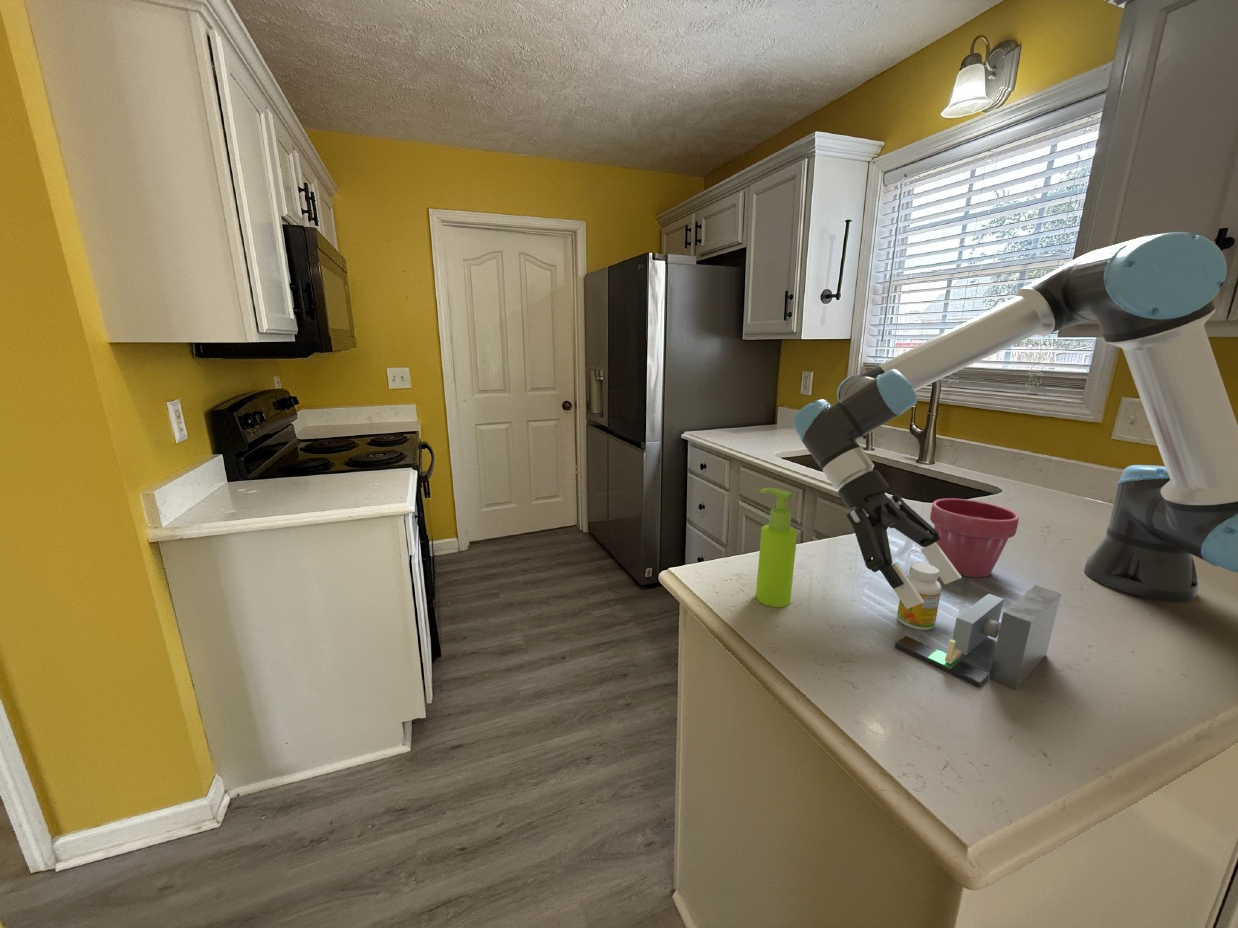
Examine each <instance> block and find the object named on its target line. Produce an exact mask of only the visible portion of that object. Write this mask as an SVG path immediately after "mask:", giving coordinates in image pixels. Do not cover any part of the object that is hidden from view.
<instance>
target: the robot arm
mask: <svg viewBox="0 0 1238 928" xmlns="http://www.w3.org/2000/svg"><path fill="white" fill-rule="evenodd" d="M1227 267H1228V265H1227V260H1226V258H1225V254H1224V252H1222V250H1221V249H1220V247H1219V246H1218V245H1217V244H1216V243H1214V242H1213V241H1212V240H1210V239H1208V238H1207V237H1205V236H1203V235H1200V234H1194V233H1191V232H1186V231H1185V232H1183V231H1172V232H1165V233H1155V234H1147V235H1144V236H1141V237H1137V238H1134V239H1130V240H1127V241H1124V242H1120V243H1117V244H1113V245H1110V246H1105V247H1101V248H1098V249H1093V250H1091V251H1089V252H1087V253H1084V254H1082V255H1080V256H1078V257H1076V258H1075V259H1073V260H1071V261H1069V262H1067V263H1066V264H1063V265H1062V266H1060V267H1059V268H1057V269H1055V270H1052V271H1051V272H1049V273H1048V274H1045V275H1044V276H1042V277H1040V278H1038V279H1037V280H1035V281H1033V282H1031V283H1029V284H1027V285H1025V286H1024V287H1021V288H1020V289H1018V291H1017V293H1016V294H1015V297H1014V298H1011V299H1009V300H1007V301H1006V302H1003V303H1002V304H1000V305H997V306H996V307H994V308H992V309H990V310H987V311H986V312H984V313H982V314H980V315H978V316H975V317H974V318H971V319H970V320H967V321H965V322H964V323H962V324H959V325H957V326H955V327H954V328H951V329H949V330H947V331H945V332H943V333H941V334H939V335H937V336H935V337H934V338H930V339H929V340H927V341H925V342H923V343H921V344H919V345H917V346H915V347H913V348H911V349H909V350H907V351H905V352H903V353H901V354H899V355H897V356H895V357H893V358H890V359H889V360H887V361H885V362H883V363H881V364H879V365H877V366H875V367H872V368H871V369H869V370H866V371H865V372H863V373H860V374H855V375H854V374H852V375H851V376H848V377H846V378H845V379H843V380H842V381H841V383H840V384H839V385H838V388H837V390H836V398H837V402H834V403H833V404H831V403H829V401H827V400H826V399H818V400H817V399H816V400H814V401H813V402H811V403H808V404H807V405H804V406H803V407H802V408H801V409H799V410H798V412H796V414H794V416H793V418H792V422H791V423H792V427H793V429H794V431H795V433H796V434H797V435H798V437H799V439H800V441H801V442H802V444H803V445H804V447H805V448H806V450H807V451H808V452H809V454H810V455H811V457H812V458H813V459H814V461H815V462H816V464H817V465H818V467H819V468H820V469H821V470H822V472H823V473H824V475H825V477H826V480H827V481H829V482H830V484H831V485H832V487H833V488H834V489H838V491H837V494H838V497H840V499H841V500H842V502H843V503H844V505H845V506H846V508H847V509H849V510H851V511H850V512H848V513H847V514H846V518H847V519H848V521H849V522H850V524H851V526H852V528H853V532H854V534H855V538H856V541H857V543H858V546H859V549H860V553H861V555H862V558H863V561H864V565H865V567H866V568H867V569H868V570H871V572H873V573H877V572H881V574H882V575H883V577H884V578H885V580H886V581H887V583H888V585H890V588H892V590H893V591H894V593H895V594H896V596H897V597H898V599H899V601H900V600H901V601H902V603H903V604H904V606H905V607H906V609H909V608H911V607H914V606H916V605H919V604H921V603H923V602H924V600H923V599H922V597H921V596H920V595H919V593H918V592H917V590H916V589H915V587H914V586H913V584H912V583H911V582H910V580H909V579H908V577H907V575H906V573H905V571H904V570H903V568H902V567H901V566H900V565H899V562H895V563H893V558H892V552H891V546H890V542H889V536H888V535H889V534H888V528H890V529H895V530H896V531H898V532H900V533H901V534H902V535H904V536H906V537H907V538H908V539H910V540H911V541H912V542H914V543H916V544H917V545H919V546H920V547H922V548H921V549H920V552H921V553H922V554H923V556H924V557H925V559H926V560H927V561H928V564H929V565H932V566H934V567H936V568H937V569H938V570H939V576H938V578H940V579H941V581H942V582H943V584H944V585H948V584H950V583H952V582H954V581H957V580H960V579H961V578H962V575H960V574H959V573H958V571H957V570H956V569H955V567H954V566H953V565H952V563H951V562H950V560H949V559H948V558H947V556H946V555H945V554H944V552H943V551H942V550H941V548H940V547H939V546H938V544H937V543H936V541H938V540H940V539H941V537H940V536H939V533H938V532H937V531H936V530H935V529H934V526H932V525H931V524H929V523H928V522H927V521H926V520H925V519H924V518H923V517H921V515H919V514H918V513H917V512H916V511H915V510H914V509H913V508H912V507H910V506H909V505H908V504H907V503H906V502H905V501H904V499H903V498H902V497H901V496H900V495H899V494H898V493H895V494H893V495H892V496H890V497H889V496H887V495H886V493H885V492H887V490H888V489H889V487H890V486H889V484H888V482H887V481H886V480H885V478H884V477H883V476H882V474H881V473H880V472H879V470H876V469H874V467H875V464H874V463H873V460H871V459H870V457H869V456H868V455H867V454H866V452H865V451H864V450H863V448H862V447H861V446H860V444H858V442H857V440H859V439H861V438H862V437H865V435H867V434H869V433H871V432H873V431H874V430H876V429H878V428H880V427H882V426H883V425H885V424H887V423H888V422H891V421H892V420H894V419H895V418H897V417H899V416H902V415H903V414H904V413H906V412H907V411H908V410H910V409H911V408H913V407H914V406H915V405H916V404H917V403H918V394H917V393H916V391H917V390H919V389H922V388H924V387H926V386H928V385H930V384H932V383H935V382H937V381H939V380H941V379H943V378H946V377H947V376H949V375H951V374H954V373H956V372H958V371H960V370H963V369H965V368H966V367H969V366H970V365H971V366H972V365H973V364H975V363H978V362H980V361H982V360H984V359H986V358H988V357H990V356H992V355H993V356H994V355H995V354H997V353H999V352H1001V351H1004V350H1005V349H1008V348H1010V347H1012V346H1015V345H1016V344H1018V343H1021V342H1022V341H1024V340H1026V339H1029V338H1031V337H1033V336H1036V335H1038V336H1043V337H1044V336H1049V335H1051V334H1053V333H1055V332H1057V331H1059V330H1062V329H1065V328H1069V327H1071V326H1076V325H1080V324H1086V323H1091V322H1097V323H1098V326H1099V328H1100V331H1101V334H1102V336H1103V339H1104V342H1105V343H1106V344H1107V345H1111V346H1114V347H1117V348H1121V349H1122V353H1123V354H1124V357H1125V359H1126V363H1127V365H1128V368H1129V371H1130V373H1131V378H1132V379H1133V382H1134V385H1135V388H1136V391H1137V392H1138V396H1139V399H1140V401H1141V404H1142V407H1143V409H1144V412H1145V415H1146V418H1147V420H1148V423H1149V426H1150V429H1151V432H1152V434H1153V437H1154V440H1155V443H1156V446H1157V448H1158V452H1159V453H1160V457H1161V460H1162V462H1163V464H1164V465H1163V466H1162V465H1151V464H1149V465H1148V464H1146V465H1145V464H1133V465H1129V466H1127V467H1125V468H1124V469H1123V471H1122V473H1121V476H1120V477H1119V480H1118V482H1117V490H1116V493H1115V497H1114V501H1113V506H1112V509H1111V513H1110V517H1109V521H1108V524H1107V529H1106V533H1105V535H1104V538H1103V539H1102V540H1101V541H1100V542H1099V544H1098V545H1097V546H1096V547H1095V549H1094V550H1093V552H1092V553H1091V555H1090V556H1088V557H1087V559H1086V561H1085V564H1084V569H1083V570H1084V573H1085V574H1086V575H1087V576H1088V577H1089V578H1090V579H1092V580H1094V581H1095V582H1098V583H1099V584H1102V585H1104V586H1106V587H1109V588H1111V589H1114V590H1117V591H1120V592H1123V593H1127V594H1130V595H1134V596H1138V597H1142V598H1147V599H1150V600H1151V599H1152V600H1157V601H1163V602H1170V603H1187V602H1192V601H1194V600H1195V599H1196V596H1197V594H1198V591H1199V582H1198V576H1197V569H1196V565H1195V559H1194V556H1195V557H1197V558H1198V559H1201V560H1203V561H1204V562H1207V563H1208V564H1210V565H1212V566H1214V567H1218V568H1219V567H1220V568H1222V569H1223V570H1224V569H1225V570H1227V571H1230V572H1233V573H1237V574H1238V423H1237V420H1236V416H1235V414H1234V410H1233V408H1232V404H1231V402H1230V398H1229V395H1228V393H1227V390H1226V387H1225V385H1224V381H1223V378H1222V376H1221V373H1220V370H1219V369H1220V368H1219V367H1218V363H1217V361H1216V358H1215V355H1214V352H1213V349H1212V346H1211V343H1210V339H1209V337H1208V334H1207V332H1206V329H1205V324H1206V322H1207V321H1208V320H1209V319H1210V318H1211V317H1212V316H1213V315H1214V313H1215V312H1216V306H1215V304H1214V300H1213V299H1214V298H1215V297H1216V296H1217V295H1218V294H1219V292H1220V291H1221V288H1220V286H1221V284H1222V283H1225V281H1226V277H1227V272H1228V268H1227Z"/></svg>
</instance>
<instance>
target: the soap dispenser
mask: <svg viewBox="0 0 1238 928" xmlns="http://www.w3.org/2000/svg"><path fill="white" fill-rule="evenodd" d="M758 492H759V493H760V494H768V495H769V494H770V495H774V496H776V505H775V507H772V508H771V509H770V513H769V515H770V516H769V524H768V523H767V524H765V525H763V526H761V530H760V532H761V533H760V543H759V552H758V554H759V555H758V566H757V578H756V589H755V598H756V600H757V601H758V602H759V603H761V604H763V605H764V606H767V607H771V608H784V607H787V606H789V605H790V603H791V598H792V588H793V579H794V578H793V577H794V570H795V569H794V568H795V558H796V548H797V542H798V541H797V539H798V530H796V528H794V527H791V521H792V511H791V510H790V509H789V508H788V499H790V498H793V497H794V496H793V495H794V492H791V491H788V490H785V489H781V488H775V487H763V488H762V489H761V488H760V489H758Z"/></svg>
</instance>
